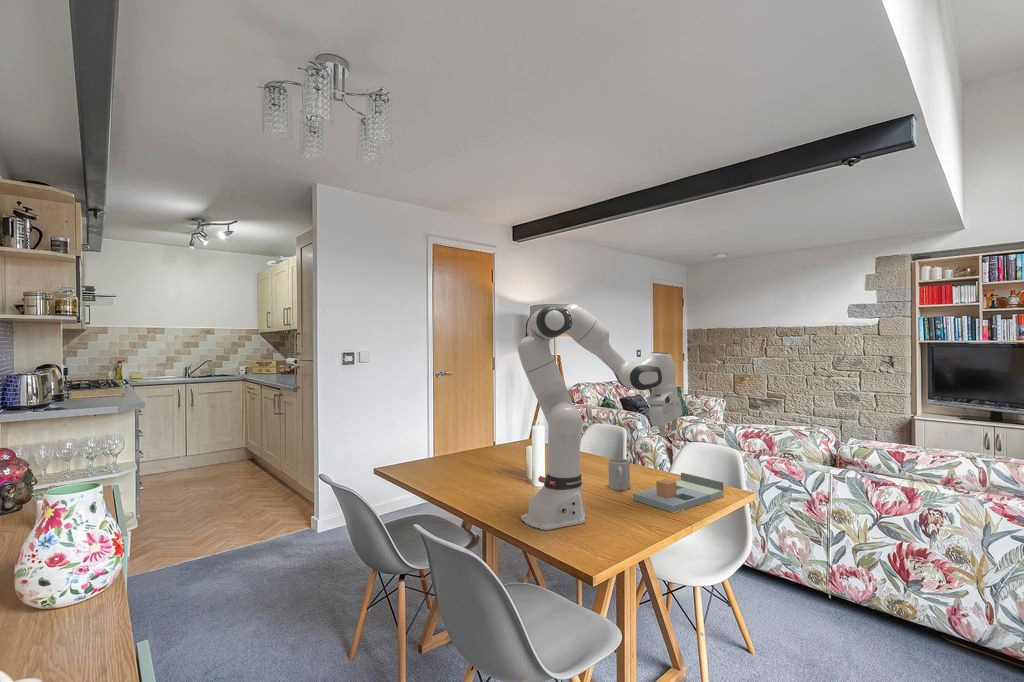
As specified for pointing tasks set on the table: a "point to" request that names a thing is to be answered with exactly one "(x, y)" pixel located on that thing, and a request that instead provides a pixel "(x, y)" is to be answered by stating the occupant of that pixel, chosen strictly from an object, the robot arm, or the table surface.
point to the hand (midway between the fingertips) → (669, 433)
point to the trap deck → (683, 493)
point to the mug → (619, 474)
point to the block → (666, 488)
